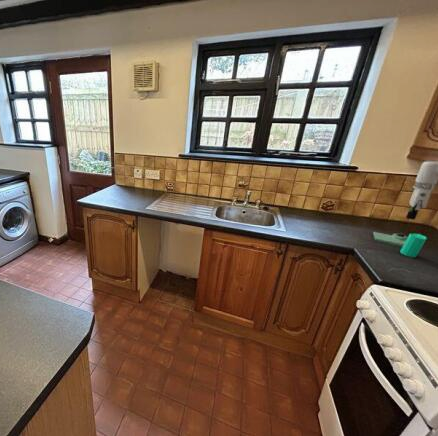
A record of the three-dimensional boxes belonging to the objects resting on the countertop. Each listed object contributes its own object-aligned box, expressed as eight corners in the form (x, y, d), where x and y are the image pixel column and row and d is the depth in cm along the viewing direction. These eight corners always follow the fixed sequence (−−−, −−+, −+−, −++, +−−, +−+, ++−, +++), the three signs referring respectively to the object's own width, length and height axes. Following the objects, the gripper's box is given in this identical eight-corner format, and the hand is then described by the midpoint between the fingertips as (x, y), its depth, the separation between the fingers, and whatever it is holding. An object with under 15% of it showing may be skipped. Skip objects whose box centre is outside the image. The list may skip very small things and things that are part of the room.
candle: (413, 253, 125) (425, 232, 120) (418, 258, 120) (430, 237, 115) (398, 249, 127) (409, 229, 122) (402, 254, 123) (413, 233, 118)
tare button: (403, 236, 138) (404, 233, 138) (404, 237, 136) (405, 235, 135) (396, 234, 140) (397, 231, 139) (397, 236, 138) (398, 233, 137)
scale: (404, 240, 139) (406, 235, 138) (409, 248, 130) (411, 243, 129) (372, 233, 147) (374, 229, 146) (374, 240, 138) (376, 235, 137)
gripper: (438, 189, 119) (423, 224, 125) (430, 184, 130) (417, 216, 136) (416, 187, 123) (403, 220, 129) (411, 182, 134) (398, 213, 140)
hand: (410, 218), depth 133 cm, fingers closed
